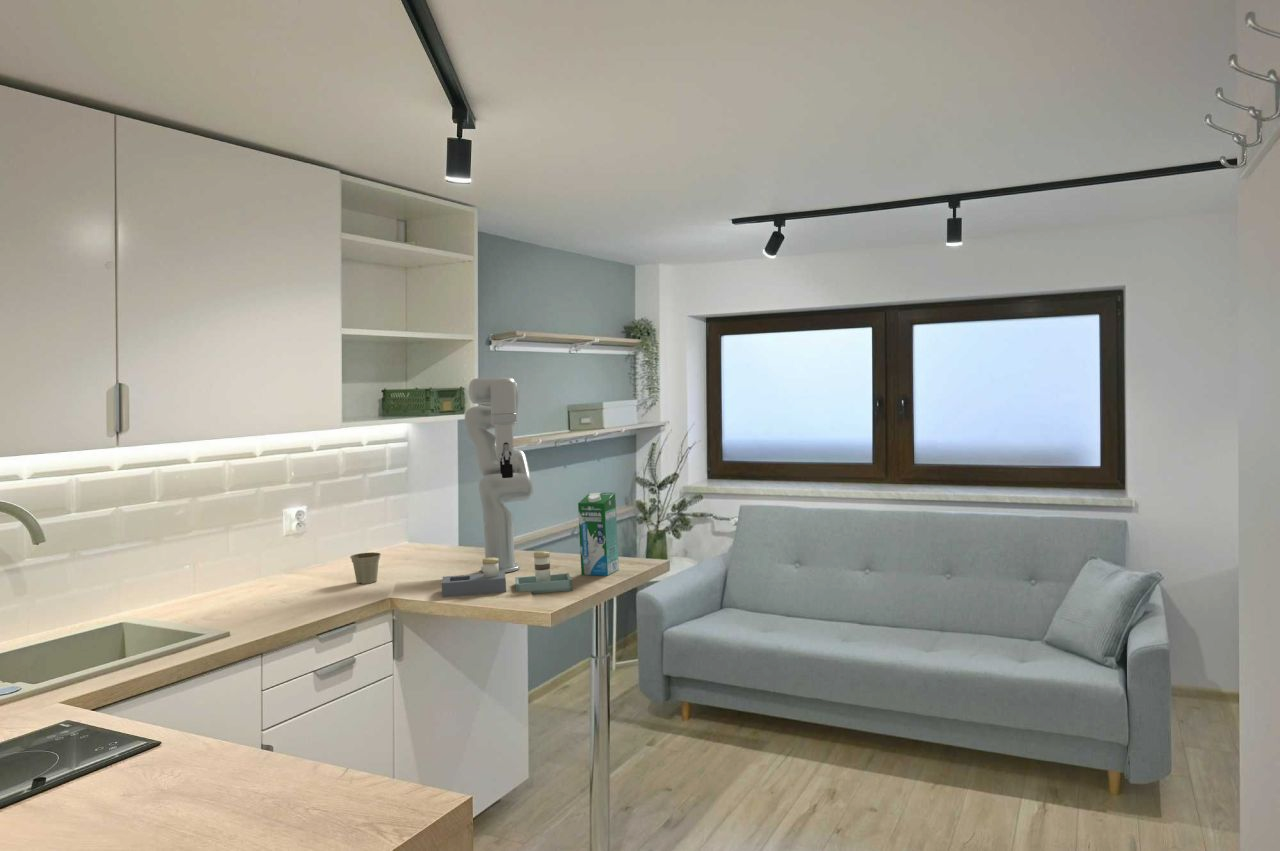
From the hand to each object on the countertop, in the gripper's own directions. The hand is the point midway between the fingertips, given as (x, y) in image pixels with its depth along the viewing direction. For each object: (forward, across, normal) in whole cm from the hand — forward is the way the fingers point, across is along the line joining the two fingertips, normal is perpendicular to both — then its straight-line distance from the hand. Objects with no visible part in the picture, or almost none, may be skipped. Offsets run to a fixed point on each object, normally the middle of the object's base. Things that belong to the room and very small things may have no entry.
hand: (506, 475), depth 268 cm
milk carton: (+33, -5, +28) cm, 44 cm away
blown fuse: (+32, +12, +9) cm, 35 cm away
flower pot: (+34, -20, -44) cm, 59 cm away
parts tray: (+33, +12, +9) cm, 36 cm away
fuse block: (+33, +11, -11) cm, 36 cm away
